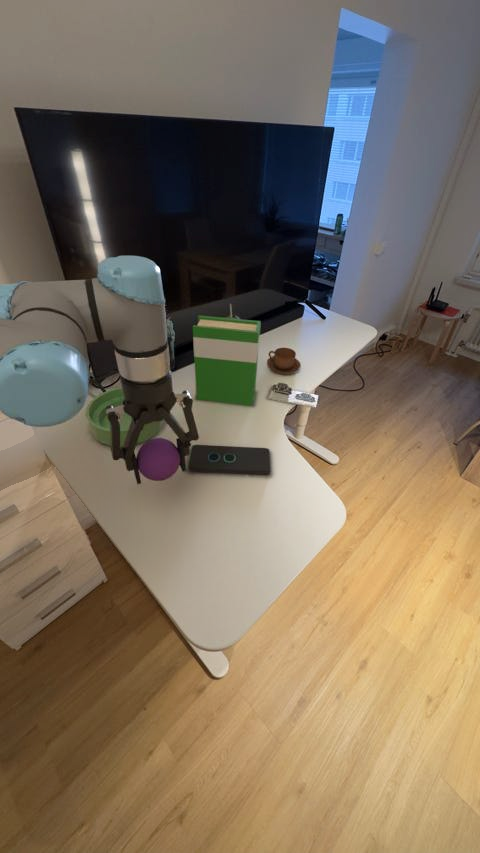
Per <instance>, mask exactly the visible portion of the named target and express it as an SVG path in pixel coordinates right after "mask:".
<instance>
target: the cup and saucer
mask: <svg viewBox="0 0 480 853" xmlns="http://www.w3.org/2000/svg"><path fill="white" fill-rule="evenodd" d="M271 354H274V355H273V356H272V355H271ZM296 356H297V353H296V350H294V349H292V348H289V347H279V348H277V349H275V350H270V351H268V357H269V358H268V359H267V360H266V365H267V367H268V368H269V369H270V370H271V371H273V372H275V373H276V374H280V375H281V374H282V375H290V374H294V373H296V372H298V371H299V370H300V368H301V367H302V366H301V362H300V361H299V360H298V359H297V358H296Z"/></svg>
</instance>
